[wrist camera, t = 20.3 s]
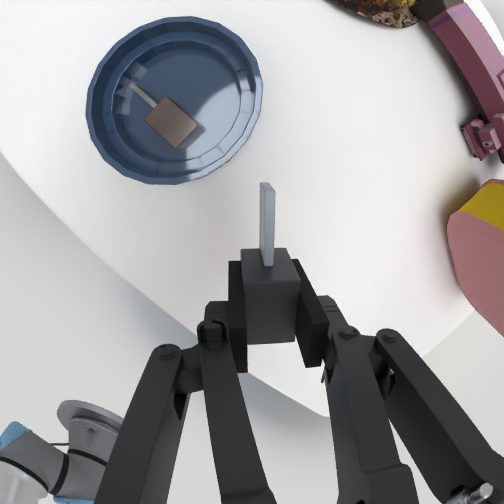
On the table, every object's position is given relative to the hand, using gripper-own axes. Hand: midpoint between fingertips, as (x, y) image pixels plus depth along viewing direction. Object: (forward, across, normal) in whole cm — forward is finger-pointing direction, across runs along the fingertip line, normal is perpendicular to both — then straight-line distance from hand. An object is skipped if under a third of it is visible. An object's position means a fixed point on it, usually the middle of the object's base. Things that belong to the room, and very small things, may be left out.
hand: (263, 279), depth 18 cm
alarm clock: (+13, +33, -2) cm, 36 cm away
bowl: (+13, -7, +13) cm, 19 cm away
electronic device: (+13, +29, +20) cm, 38 cm away
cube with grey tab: (0, 0, +2) cm, 2 cm away
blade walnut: (+12, -8, +12) cm, 19 cm away
